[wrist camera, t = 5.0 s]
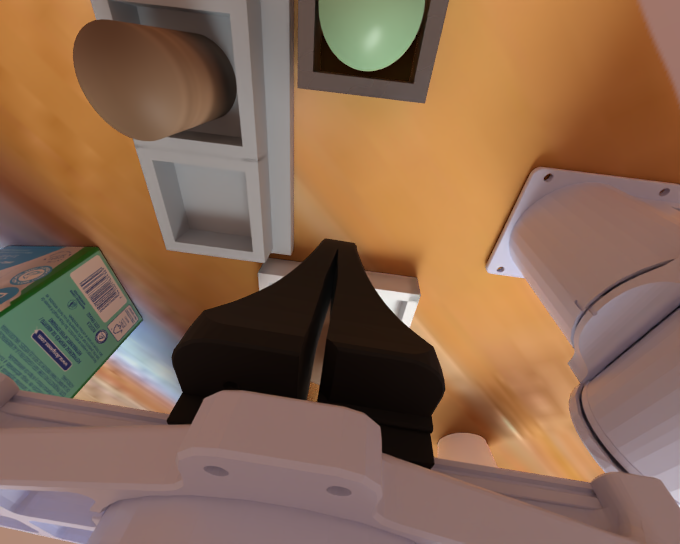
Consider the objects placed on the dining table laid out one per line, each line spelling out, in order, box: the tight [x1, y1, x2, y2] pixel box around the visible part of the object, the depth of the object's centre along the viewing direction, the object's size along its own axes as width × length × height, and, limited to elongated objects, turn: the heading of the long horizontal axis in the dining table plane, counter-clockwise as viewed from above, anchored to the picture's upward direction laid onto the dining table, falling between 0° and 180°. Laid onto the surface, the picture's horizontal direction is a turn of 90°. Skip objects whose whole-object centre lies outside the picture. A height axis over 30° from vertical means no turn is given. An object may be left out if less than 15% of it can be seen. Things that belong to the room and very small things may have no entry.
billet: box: [310, 301, 331, 385], centre depth 24 cm, size 4×4×6 cm
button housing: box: [298, 0, 449, 103], centre depth 14 cm, size 6×6×2 cm
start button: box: [319, 0, 425, 71], centre depth 13 cm, size 4×4×3 cm
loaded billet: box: [73, 19, 237, 141], centre depth 14 cm, size 4×4×6 cm
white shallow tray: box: [258, 258, 421, 328], centre depth 26 cm, size 13×10×2 cm
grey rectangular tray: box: [91, 0, 294, 263], centre depth 18 cm, size 10×15×3 cm, turn 175°
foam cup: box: [438, 433, 498, 468], centre depth 34 cm, size 10×9×13 cm
